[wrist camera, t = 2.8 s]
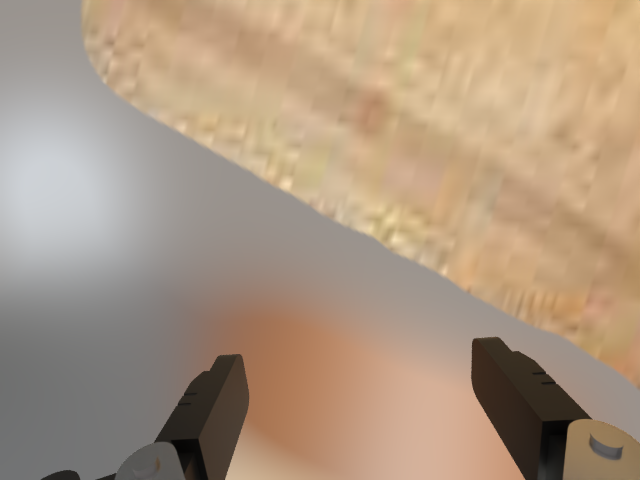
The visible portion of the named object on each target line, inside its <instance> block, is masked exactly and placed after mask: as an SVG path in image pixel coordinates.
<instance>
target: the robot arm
mask: <svg viewBox="0 0 640 480" xmlns="http://www.w3.org/2000/svg"><path fill="white" fill-rule="evenodd" d="M471 379H472V386H473V390H474V393H475V395H476V397H477V399H478V401H479V402H480V404H481V406H482V407H483V409H484V411H485V413H486V414H487V416H488V418H489V419H490V421H491V423H492V424H493V426H494V428H495V429H496V431H497V433H498V434H499V436H500V438H501V439H502V441H503V443H504V445H505V446H506V448H507V449H508V451H509V453H510V455H511V456H512V458H513V459H514V461H515V463H516V465H517V466H518V468H519V469H520V471H521V473H522V474H523V476H524V478H525V480H640V443H639V442H638V441H637V440H635V439H634V438H633V437H632V436H630V435H629V434H627V433H626V432H624V431H623V430H621V429H619V428H617V427H615V426H613V425H610V424H608V423H605V422H601V421H597V420H593V419H592V418H591V417H590V416H589V415H588V414H587V413H586V412H585V411H584V410H583V409H582V408H581V407H580V406H579V405H578V404H577V403H576V402H575V401H574V400H573V399H572V398H571V397H570V396H569V395H568V394H567V393H566V392H565V391H564V390H563V389H562V388H561V387H560V386H559V385H558V384H556V382H555V381H554V380H553V379H552V378H551V377H550V376H549V375H548V374H546V372H545V371H544V370H543V369H542V368H541V367H540V366H539V365H538V364H537V363H536V362H535V361H534V360H533V359H531V358H529V357H527V356H526V355H524V354H522V353H521V352H519V351H514V352H512V351H511V350H510V349H509V348H508V347H507V345H505V343H504V342H503V341H502V340H501V339H500V338H498V337H488V338H476V339H473V342H472V371H471ZM248 405H249V390H248V384H247V379H246V374H245V368H244V363H243V358H242V356H241V355H240V354H233V355H220V356H218V357H217V359H216V360H215V362H214V364H213V366H212V368H211V369H210V371H204V372H202V373H201V374H200V375H199V376H197V377H196V378H195V379H194V380H193V381H192V382H191V383H190V385H189V386H188V388H187V390H186V391H185V393H184V396H182V398H181V399H180V401H179V403H178V406H176V408H175V409H174V411H173V412H172V414H171V416H170V417H169V419H168V420H167V422H166V424H165V425H164V427H163V429H162V430H161V432H160V433H159V435H158V437H157V438H156V440H155V442H154V443H152V444H149V445H147V446H144V447H142V448H140V449H139V450H137V451H136V452H134V453H133V454H132V455H130V456H129V457H128V458H127V459H126V460H125V461H124V462H123V464H122V465H121V466H120V468H119V469H118V471H117V473H115V474H112V475H109V476H106V477H103V478H100V479H97V480H225V477H226V475H227V471H228V468H229V465H230V462H231V459H232V456H233V453H234V450H235V447H236V444H237V441H238V438H239V435H240V432H241V429H242V426H243V423H244V420H245V417H246V414H247V410H248ZM41 480H80V477H79V475H78V474H77V472H75V471H71V470H65V471H60V472H56V473H53V474H51V475H49V476H47V477H45V478H43V479H41Z"/></svg>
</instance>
